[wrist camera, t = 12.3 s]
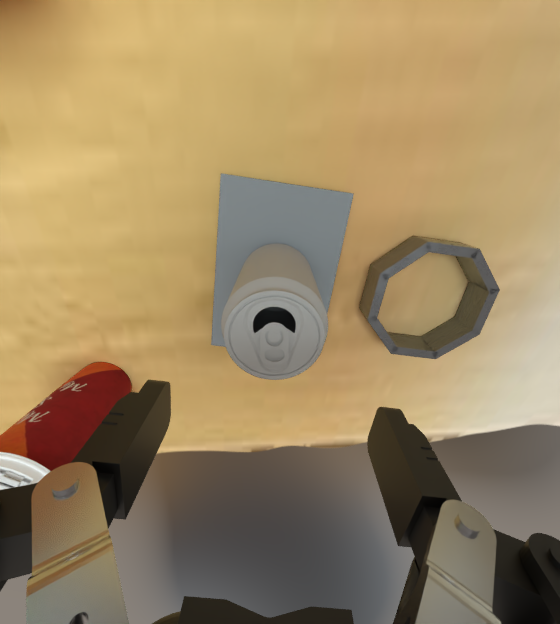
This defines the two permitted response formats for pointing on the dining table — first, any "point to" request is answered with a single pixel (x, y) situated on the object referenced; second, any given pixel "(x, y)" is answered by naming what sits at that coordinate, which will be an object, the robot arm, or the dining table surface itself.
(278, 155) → the dining table surface
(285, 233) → the mat
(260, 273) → the beverage can
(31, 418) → the paper cup
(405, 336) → the ring
